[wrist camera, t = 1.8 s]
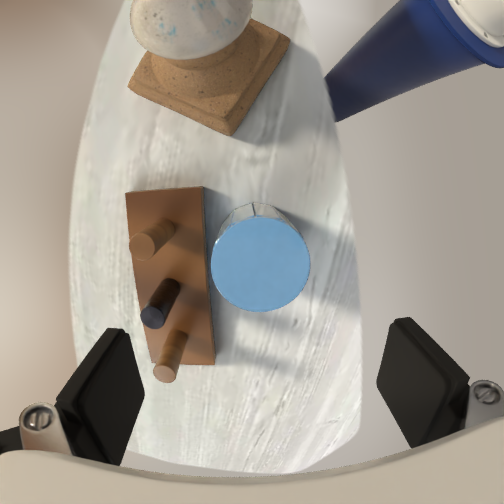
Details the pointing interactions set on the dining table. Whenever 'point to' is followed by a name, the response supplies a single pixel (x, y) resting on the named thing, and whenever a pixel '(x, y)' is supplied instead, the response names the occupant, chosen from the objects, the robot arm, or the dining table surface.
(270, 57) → the candle holder
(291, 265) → the cup
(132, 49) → the dining table surface
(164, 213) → the rack
